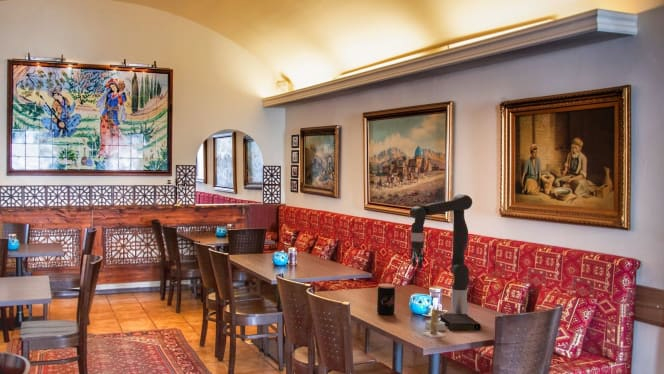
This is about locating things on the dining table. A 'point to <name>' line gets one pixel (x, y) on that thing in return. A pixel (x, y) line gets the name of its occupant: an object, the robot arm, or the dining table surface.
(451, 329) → the diary
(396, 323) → the dining table surface
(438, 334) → the ceramic pad
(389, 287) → the coffee jar
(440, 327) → the socket block
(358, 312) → the dining table surface
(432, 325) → the crook peg
